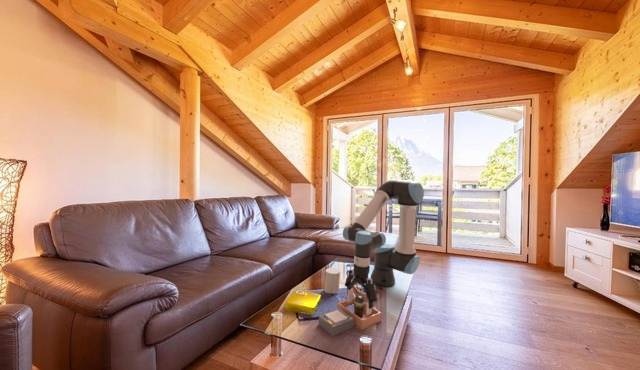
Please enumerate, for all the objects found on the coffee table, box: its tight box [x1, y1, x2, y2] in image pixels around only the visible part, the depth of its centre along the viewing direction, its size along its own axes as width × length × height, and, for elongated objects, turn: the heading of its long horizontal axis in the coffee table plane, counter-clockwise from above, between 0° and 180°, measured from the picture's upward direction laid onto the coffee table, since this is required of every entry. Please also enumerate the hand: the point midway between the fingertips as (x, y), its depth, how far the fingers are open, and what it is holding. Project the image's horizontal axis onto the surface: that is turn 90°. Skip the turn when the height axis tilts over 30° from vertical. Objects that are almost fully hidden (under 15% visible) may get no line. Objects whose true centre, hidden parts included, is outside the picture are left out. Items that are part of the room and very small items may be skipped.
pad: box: [324, 309, 348, 325], centre depth 126 cm, size 7×7×3 cm
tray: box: [336, 296, 382, 331], centre depth 134 cm, size 12×17×4 cm
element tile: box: [285, 289, 322, 314], centre depth 142 cm, size 15×15×5 cm
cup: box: [324, 267, 341, 293], centre depth 158 cm, size 8×8×12 cm
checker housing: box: [318, 309, 354, 337], centre depth 126 cm, size 12×10×5 cm
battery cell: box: [354, 295, 365, 318], centre depth 134 cm, size 4×4×10 cm
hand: (358, 307), depth 134 cm, fingers open, 12 cm apart
